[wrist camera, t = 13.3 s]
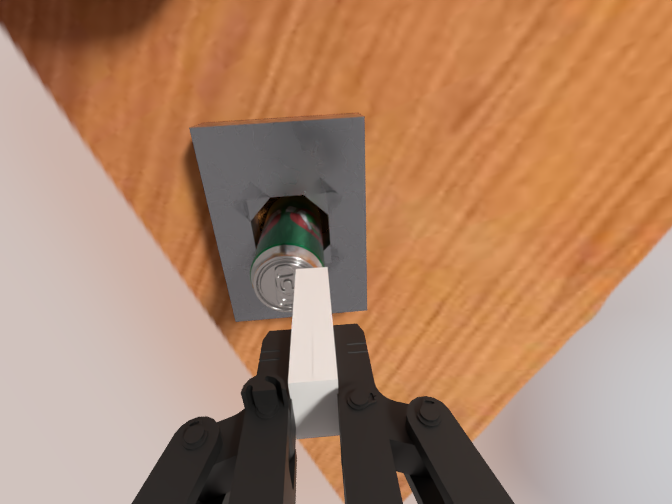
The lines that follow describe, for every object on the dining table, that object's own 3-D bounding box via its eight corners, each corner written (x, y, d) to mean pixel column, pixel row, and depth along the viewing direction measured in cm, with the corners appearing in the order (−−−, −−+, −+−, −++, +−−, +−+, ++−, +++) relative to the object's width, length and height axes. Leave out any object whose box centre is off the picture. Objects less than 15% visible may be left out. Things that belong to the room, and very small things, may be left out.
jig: (202, 122, 28) (189, 128, 25) (358, 112, 28) (364, 116, 25) (242, 301, 36) (235, 321, 33) (362, 290, 36) (367, 310, 33)
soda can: (273, 245, 33) (257, 322, 23) (262, 197, 31) (237, 257, 20) (324, 238, 33) (331, 311, 23) (316, 189, 31) (320, 245, 20)
